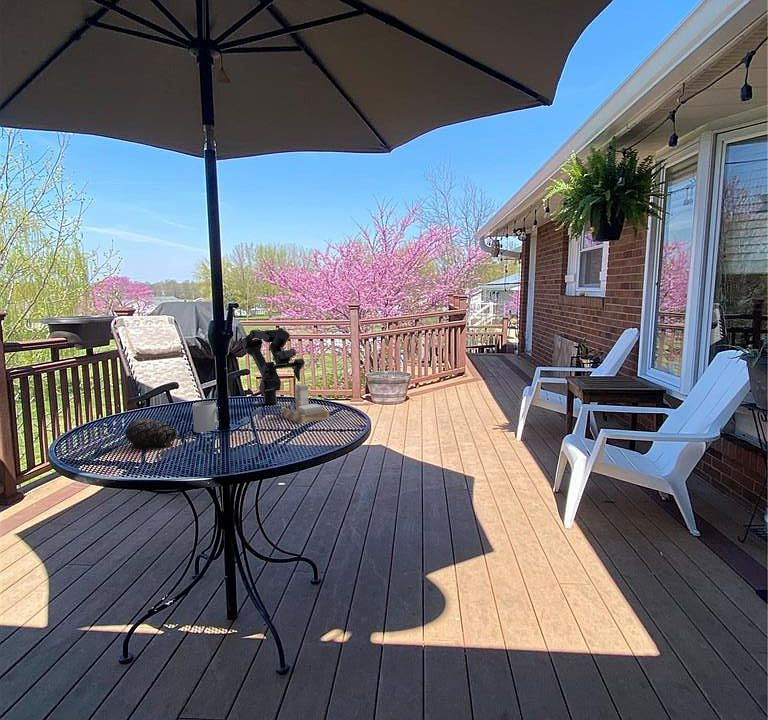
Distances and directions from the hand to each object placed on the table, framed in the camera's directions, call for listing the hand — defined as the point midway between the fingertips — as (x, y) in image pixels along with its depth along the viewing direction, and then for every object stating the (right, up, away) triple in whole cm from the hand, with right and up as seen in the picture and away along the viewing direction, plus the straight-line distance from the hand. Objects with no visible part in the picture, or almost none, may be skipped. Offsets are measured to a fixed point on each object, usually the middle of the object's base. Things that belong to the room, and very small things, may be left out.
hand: (289, 382), depth 210 cm
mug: (-25, -18, -26) cm, 41 cm away
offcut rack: (+8, -15, -9) cm, 19 cm away
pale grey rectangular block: (+7, -14, -8) cm, 17 cm away
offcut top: (+11, -12, -14) cm, 21 cm away
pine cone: (-39, -21, -42) cm, 61 cm away
